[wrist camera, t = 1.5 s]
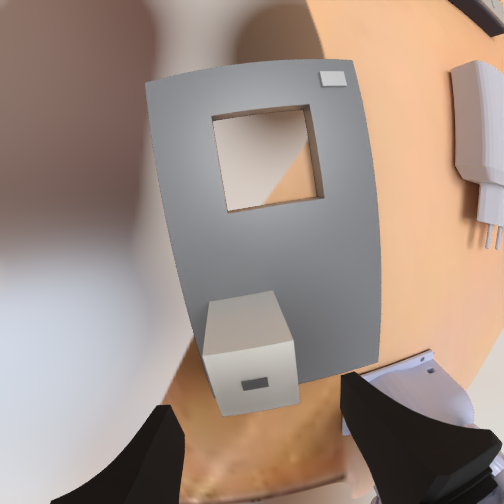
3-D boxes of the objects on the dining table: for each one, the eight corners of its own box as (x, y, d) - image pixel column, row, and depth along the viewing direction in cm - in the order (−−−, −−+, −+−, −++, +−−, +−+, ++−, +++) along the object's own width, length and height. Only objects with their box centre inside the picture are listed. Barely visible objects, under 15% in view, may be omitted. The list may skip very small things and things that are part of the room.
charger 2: (442, 239, 20) (446, 70, 17) (498, 245, 21) (503, 104, 17) (481, 253, 15) (481, 57, 12) (531, 257, 16) (535, 100, 13)
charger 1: (273, 290, 18) (294, 342, 12) (280, 344, 19) (300, 405, 13) (209, 301, 18) (202, 358, 12) (222, 354, 19) (222, 418, 13)
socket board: (344, 67, 16) (354, 58, 14) (370, 352, 22) (379, 364, 20) (150, 89, 16) (143, 81, 14) (214, 386, 21) (214, 400, 19)
